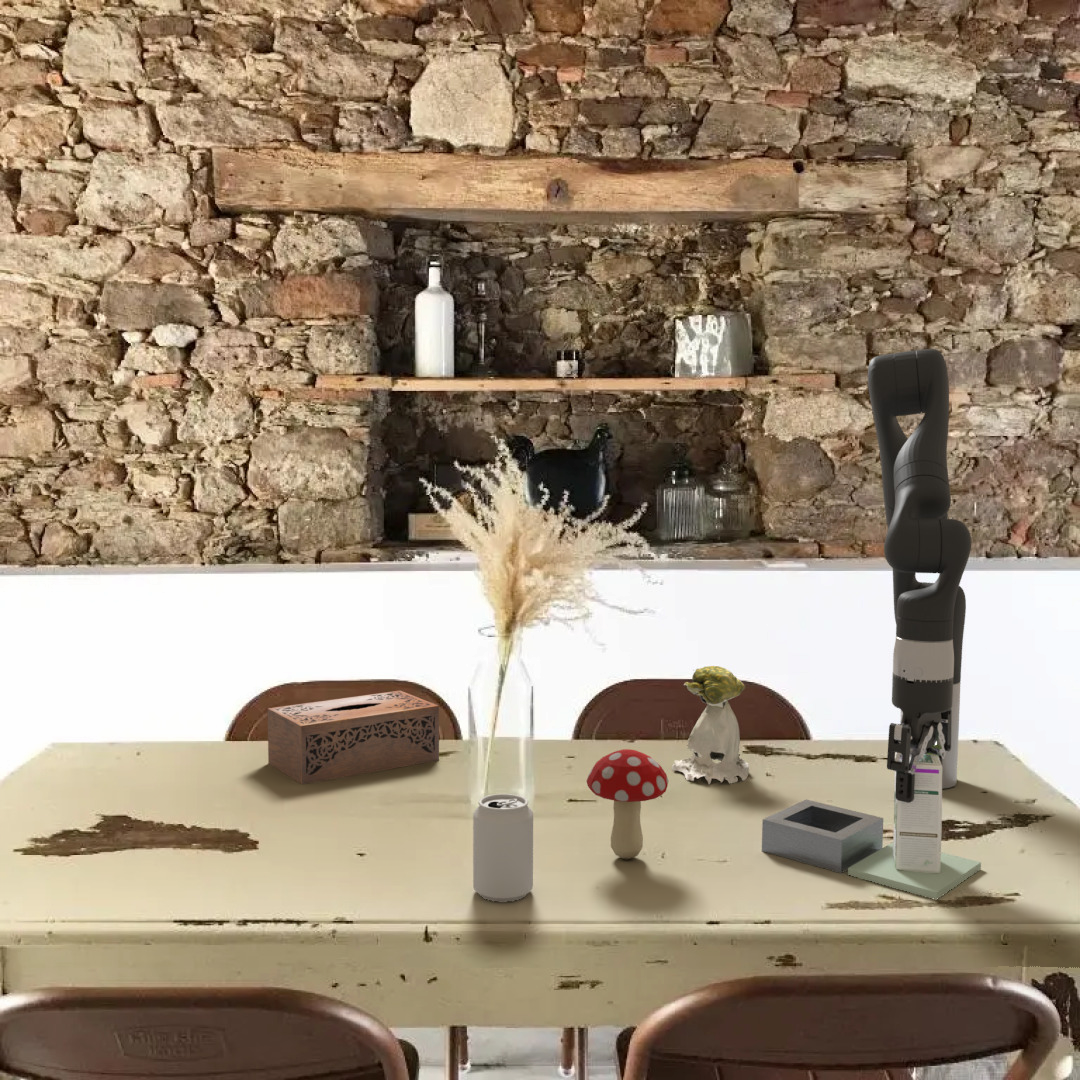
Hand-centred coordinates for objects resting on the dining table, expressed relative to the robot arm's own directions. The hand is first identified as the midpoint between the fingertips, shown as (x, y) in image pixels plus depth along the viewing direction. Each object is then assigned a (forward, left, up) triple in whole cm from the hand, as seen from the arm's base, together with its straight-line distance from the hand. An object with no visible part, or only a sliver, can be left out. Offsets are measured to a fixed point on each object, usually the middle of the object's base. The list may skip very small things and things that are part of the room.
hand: (918, 793), depth 153 cm
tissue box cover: (+18, -95, -11) cm, 97 cm away
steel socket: (+1, -13, -11) cm, 17 cm away
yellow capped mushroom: (-19, -45, -11) cm, 50 cm away
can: (+42, -35, -11) cm, 56 cm away
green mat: (0, 0, -11) cm, 11 cm away
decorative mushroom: (+22, -31, -11) cm, 40 cm away
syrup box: (0, 0, -10) cm, 10 cm away
